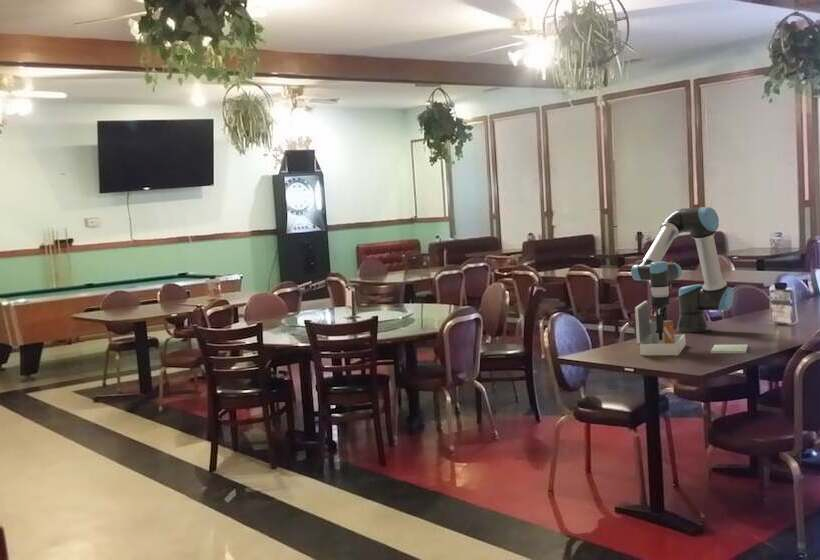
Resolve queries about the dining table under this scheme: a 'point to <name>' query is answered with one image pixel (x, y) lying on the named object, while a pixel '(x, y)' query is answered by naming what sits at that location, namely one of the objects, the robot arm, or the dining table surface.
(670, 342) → the small box
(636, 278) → the robot arm
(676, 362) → the dining table surface
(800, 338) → the dining table surface
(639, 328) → the equipment case
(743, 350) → the sage mat
